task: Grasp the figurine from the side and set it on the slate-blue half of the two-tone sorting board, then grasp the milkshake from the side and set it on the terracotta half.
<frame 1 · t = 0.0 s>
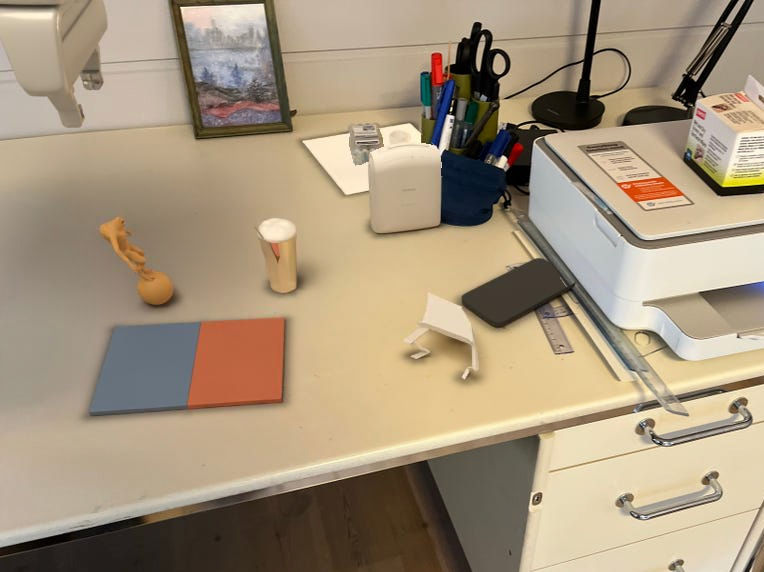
hand: (85, 105, 77), 23 cm above the table, tool pointing down, fingers open, 8 cm apart
milkshake: (282, 288, 95), on the table
phone: (519, 294, 97), on the table
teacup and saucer: (380, 157, 124), on the table
sorting board: (195, 364, 83), on the table
photo printer: (405, 226, 108), on the table
figurine: (150, 304, 91), on the table
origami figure: (446, 355, 87), on the table
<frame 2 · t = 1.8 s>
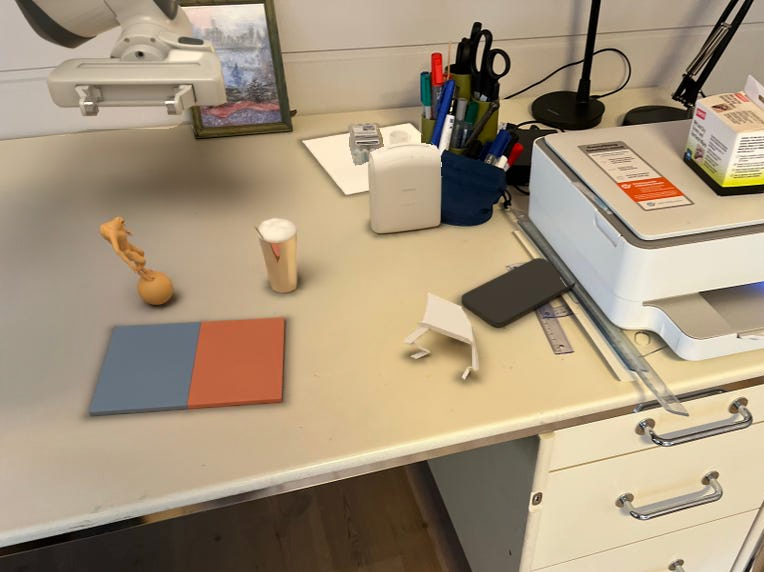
hand: (130, 109, 87), 19 cm above the table, tool horizontal, fingers open, 8 cm apart
nothing on the table moved.
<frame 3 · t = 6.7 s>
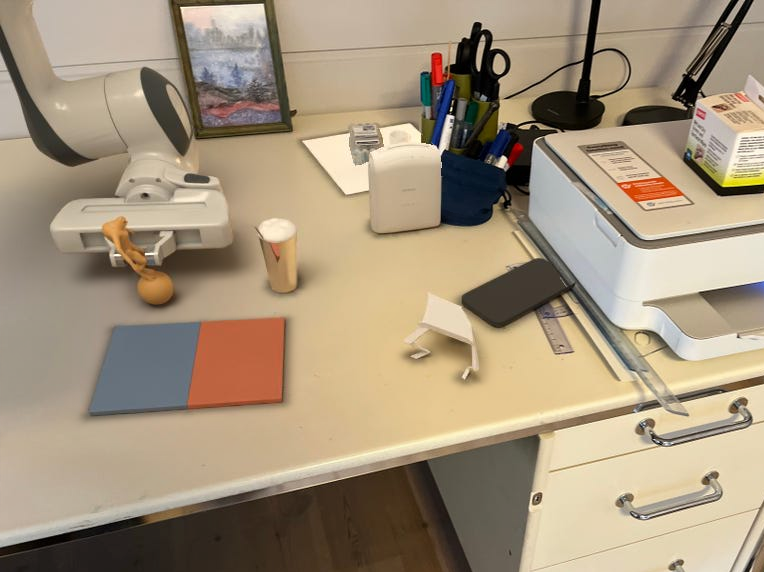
hand: (135, 261, 86), 7 cm above the table, tool horizontal, fingers closed on figurine, 2 cm apart
figurine: (150, 303, 91), on the table, touching gripper
everything else where it was.
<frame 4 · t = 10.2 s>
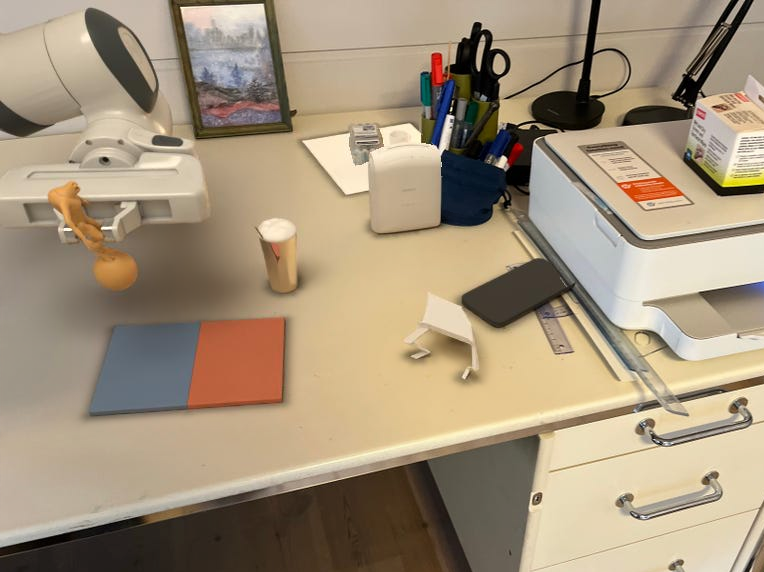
hand: (90, 236, 71), 17 cm above the table, tool horizontal, fingers closed on figurine, 2 cm apart
figurine: (109, 289, 76), point 10 cm above the table, touching gripper
everything else where it was.
when the fingers open (7 cm above the table, at t = 13.5 s): figurine stays where it is, resting on sorting board.
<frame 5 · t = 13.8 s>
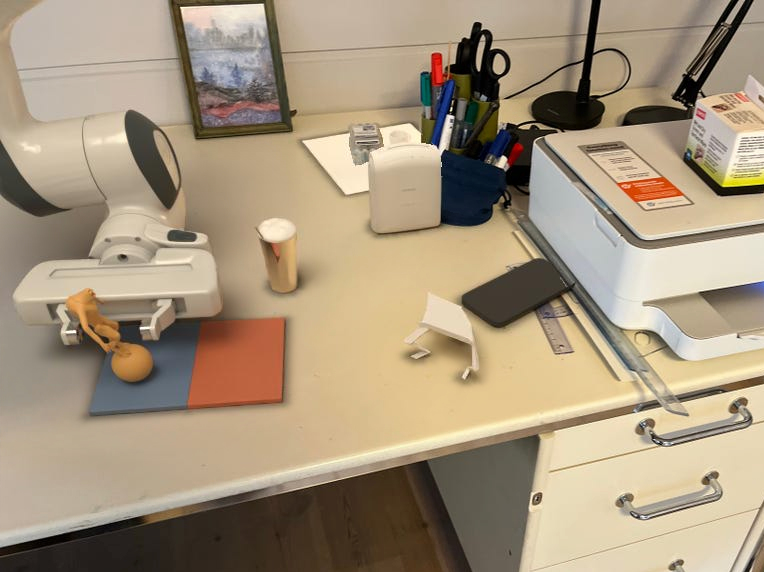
hand: (109, 337, 75), 7 cm above the table, tool horizontal, fingers open, 6 cm apart
figurine: (127, 380, 80), resting on sorting board
everything else where it was.
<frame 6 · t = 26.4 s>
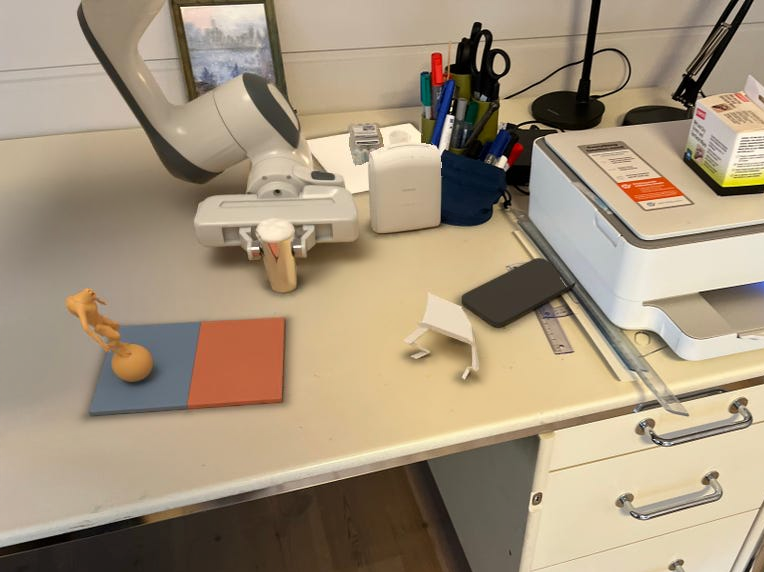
hand: (277, 253, 91), 6 cm above the table, tool horizontal, fingers closed on milkshake, 4 cm apart
milkshake: (282, 288, 95), on the table, touching gripper
everything else where it was.
when the fingers open (6 cm above the table, at t = 33.3 s): milkshake stays where it is, resting on sorting board.
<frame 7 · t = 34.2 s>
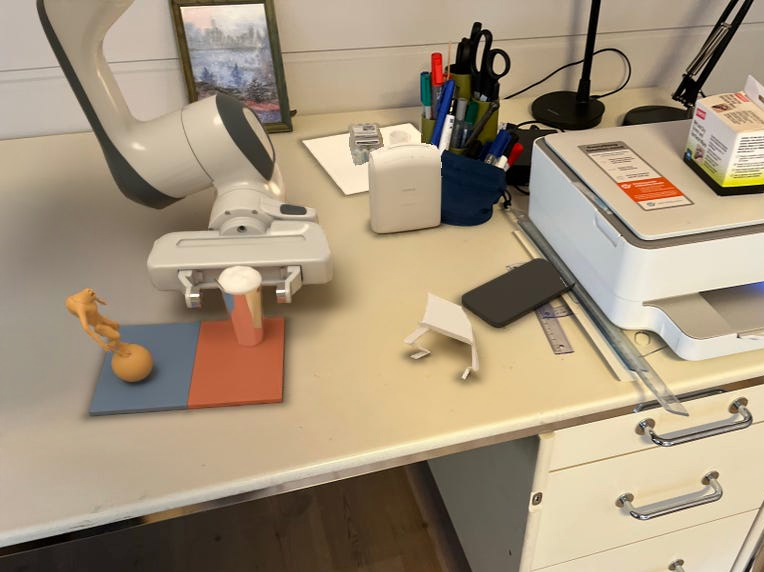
hand: (238, 300, 81), 7 cm above the table, tool horizontal, fingers open, 8 cm apart
milkshake: (247, 341, 86), resting on sorting board
everything else where it was.
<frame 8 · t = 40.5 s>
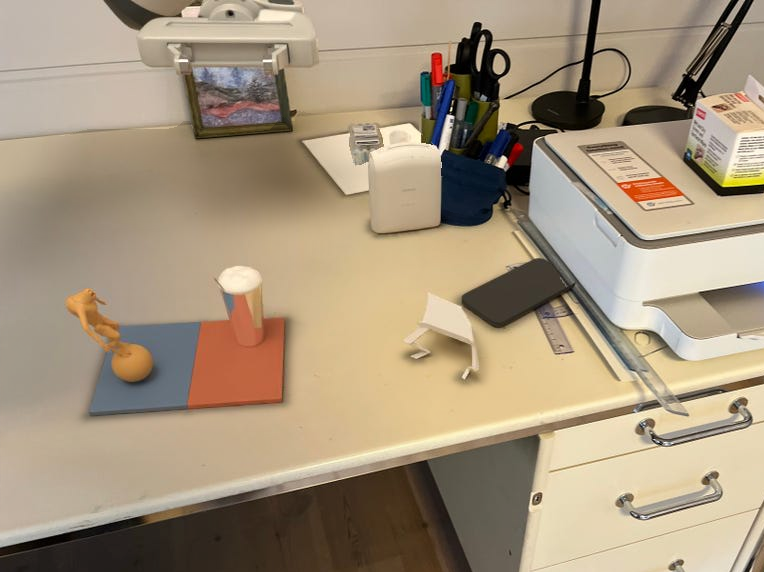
hand: (226, 68, 83), 25 cm above the table, tool horizontal, fingers open, 8 cm apart
nothing on the table moved.
at the end: figurine inside the target area (1.4 cm from its centre), on the table; milkshake inside the target area (0.6 cm from its centre), on the table; milkshake tilted 0° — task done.
